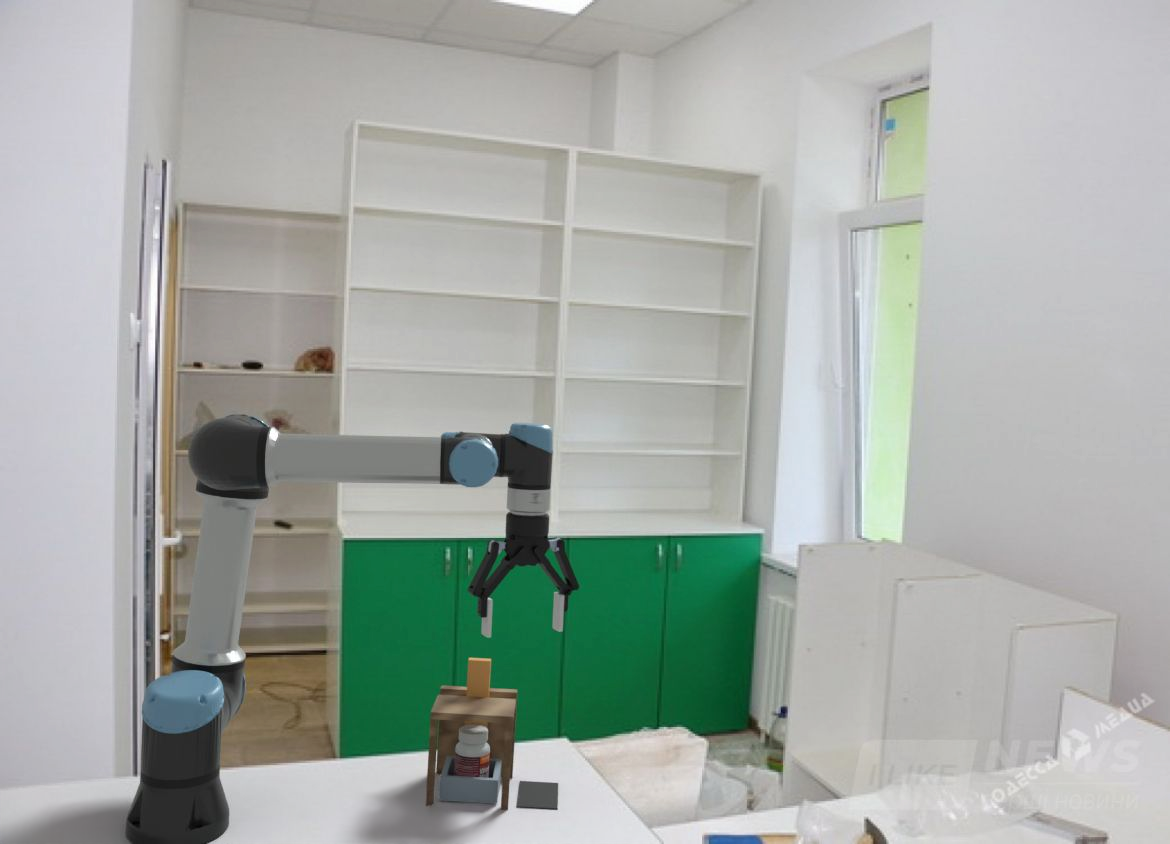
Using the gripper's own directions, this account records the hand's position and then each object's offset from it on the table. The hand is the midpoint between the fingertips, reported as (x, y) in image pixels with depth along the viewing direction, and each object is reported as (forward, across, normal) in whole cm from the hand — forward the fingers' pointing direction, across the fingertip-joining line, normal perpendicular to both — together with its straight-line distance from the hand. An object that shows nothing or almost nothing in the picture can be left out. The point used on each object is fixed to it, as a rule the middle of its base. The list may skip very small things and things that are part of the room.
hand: (522, 632), depth 180 cm
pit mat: (+29, +4, -1) cm, 30 cm away
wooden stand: (+29, -7, +4) cm, 30 cm away
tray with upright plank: (+29, -7, +4) cm, 30 cm away
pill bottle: (+29, -7, +4) cm, 30 cm away
